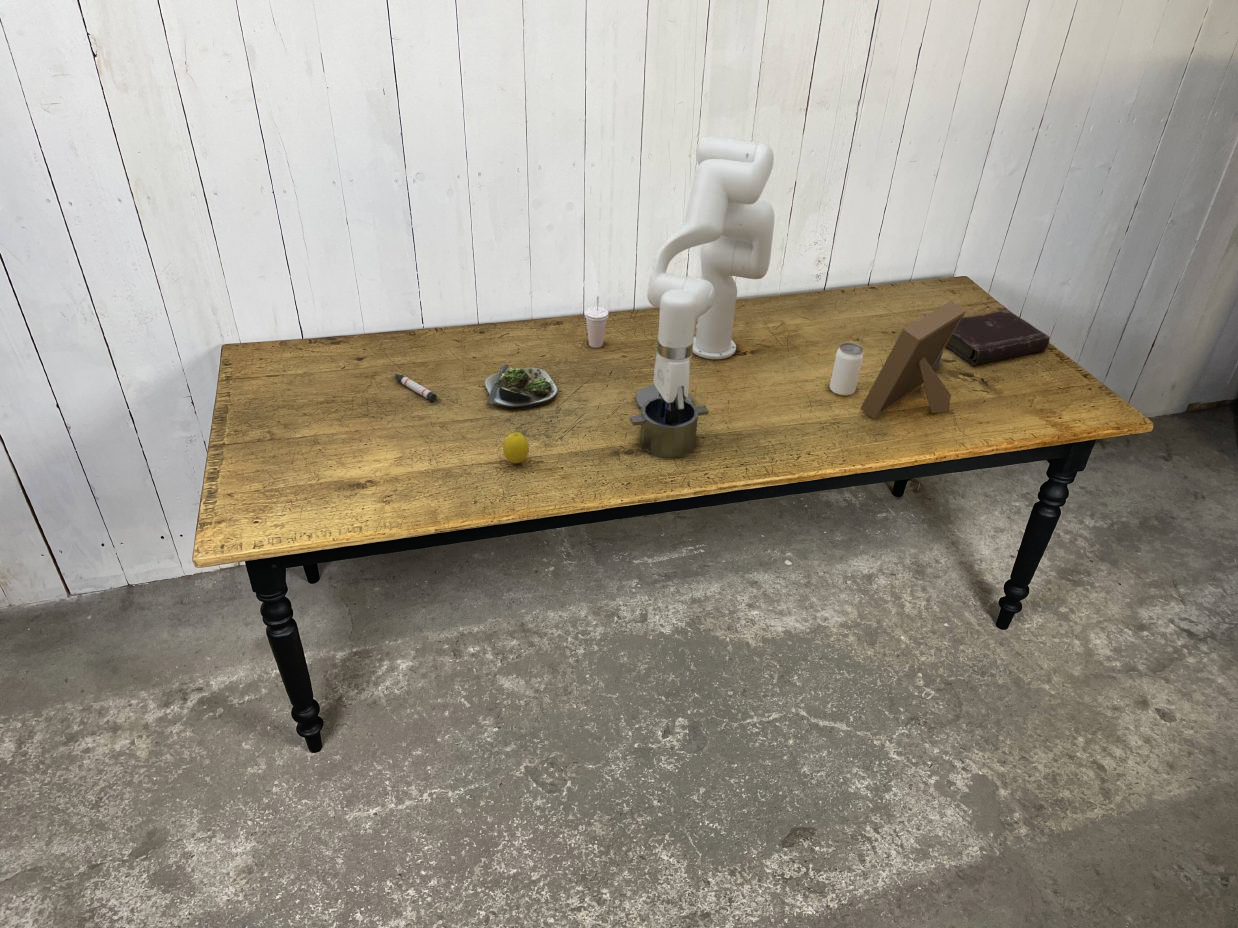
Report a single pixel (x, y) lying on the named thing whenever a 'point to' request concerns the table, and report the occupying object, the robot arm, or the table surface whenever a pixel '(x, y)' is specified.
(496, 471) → the table surface
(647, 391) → the pot lid
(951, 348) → the diary
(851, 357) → the can
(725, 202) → the robot arm
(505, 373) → the salad plate
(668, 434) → the pot
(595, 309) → the smoothie
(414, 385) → the marker
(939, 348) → the photo frame
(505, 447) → the lemon
